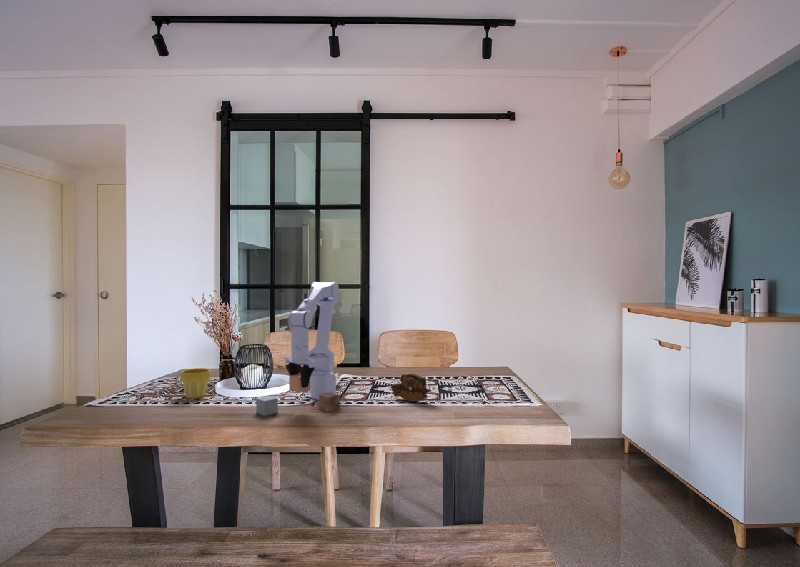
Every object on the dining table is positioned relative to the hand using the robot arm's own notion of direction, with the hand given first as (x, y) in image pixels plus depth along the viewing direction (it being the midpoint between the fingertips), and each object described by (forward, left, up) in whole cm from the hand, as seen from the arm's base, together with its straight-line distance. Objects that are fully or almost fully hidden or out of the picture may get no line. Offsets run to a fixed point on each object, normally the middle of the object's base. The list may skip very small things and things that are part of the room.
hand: (300, 385), depth 156 cm
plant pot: (+15, -45, -9) cm, 48 cm away
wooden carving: (-34, +21, -9) cm, 41 cm away
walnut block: (-8, +6, -8) cm, 13 cm away
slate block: (+9, -6, -8) cm, 14 cm away
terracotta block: (0, 0, -2) cm, 2 cm away
